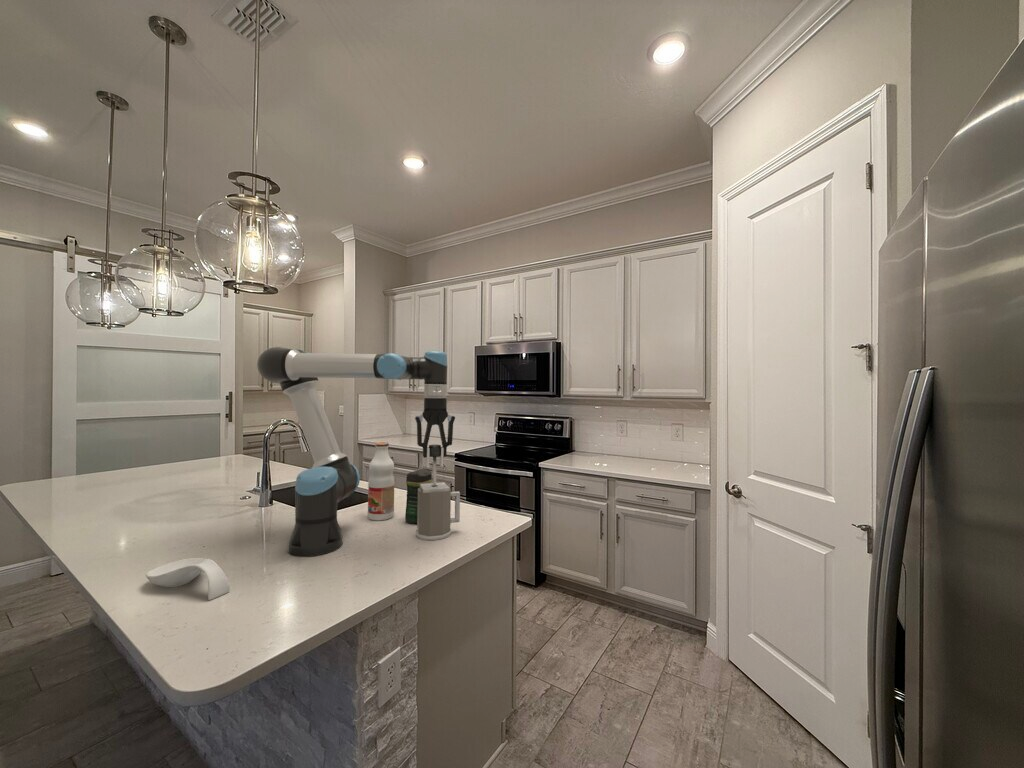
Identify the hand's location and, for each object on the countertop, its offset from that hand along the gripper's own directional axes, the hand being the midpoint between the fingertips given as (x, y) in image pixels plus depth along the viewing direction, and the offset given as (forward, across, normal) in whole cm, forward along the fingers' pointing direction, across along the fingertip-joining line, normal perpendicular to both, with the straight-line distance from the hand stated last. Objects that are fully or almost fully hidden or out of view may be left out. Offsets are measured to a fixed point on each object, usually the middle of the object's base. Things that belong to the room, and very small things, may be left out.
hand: (434, 466), depth 140 cm
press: (+23, +1, 0) cm, 23 cm away
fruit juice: (+23, -16, +24) cm, 37 cm away
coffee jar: (+23, -3, +16) cm, 28 cm away
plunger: (+13, 0, 0) cm, 13 cm away
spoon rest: (+23, -62, -18) cm, 69 cm away
